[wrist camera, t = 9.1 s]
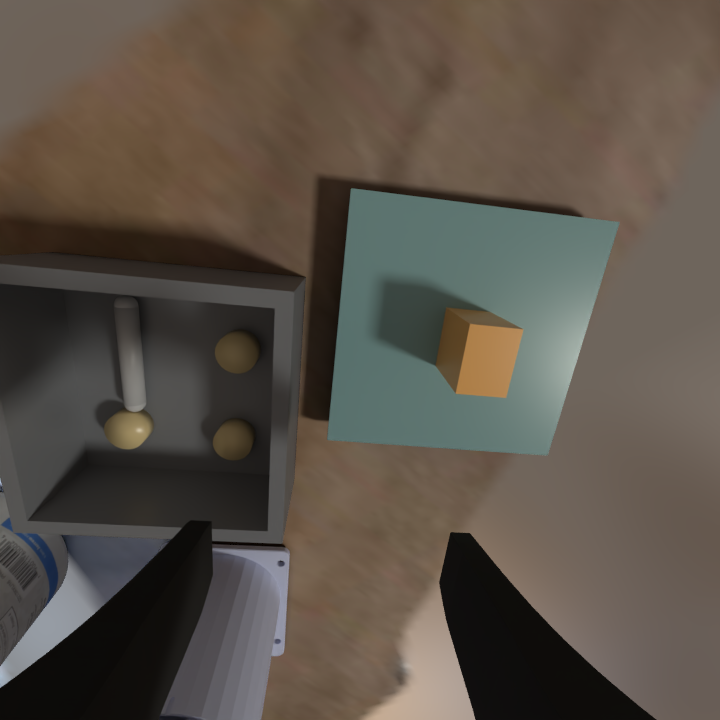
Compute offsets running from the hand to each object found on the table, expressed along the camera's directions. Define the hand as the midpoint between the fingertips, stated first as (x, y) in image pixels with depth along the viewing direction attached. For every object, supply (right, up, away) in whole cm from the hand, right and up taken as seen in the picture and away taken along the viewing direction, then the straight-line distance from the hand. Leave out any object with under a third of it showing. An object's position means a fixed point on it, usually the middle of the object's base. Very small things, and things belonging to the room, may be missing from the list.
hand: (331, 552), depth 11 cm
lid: (+6, +7, +9) cm, 13 cm away
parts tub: (-8, +5, +9) cm, 13 cm away
